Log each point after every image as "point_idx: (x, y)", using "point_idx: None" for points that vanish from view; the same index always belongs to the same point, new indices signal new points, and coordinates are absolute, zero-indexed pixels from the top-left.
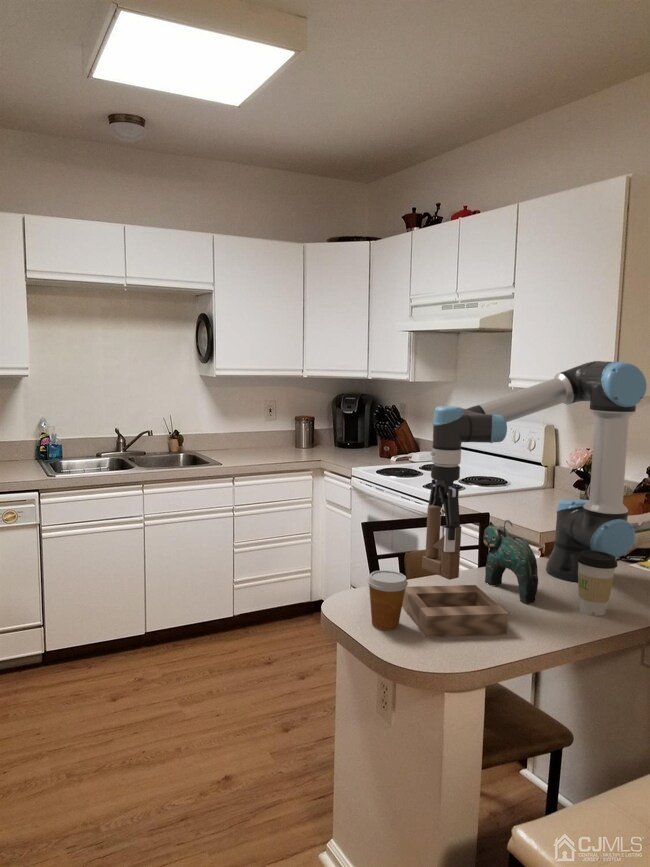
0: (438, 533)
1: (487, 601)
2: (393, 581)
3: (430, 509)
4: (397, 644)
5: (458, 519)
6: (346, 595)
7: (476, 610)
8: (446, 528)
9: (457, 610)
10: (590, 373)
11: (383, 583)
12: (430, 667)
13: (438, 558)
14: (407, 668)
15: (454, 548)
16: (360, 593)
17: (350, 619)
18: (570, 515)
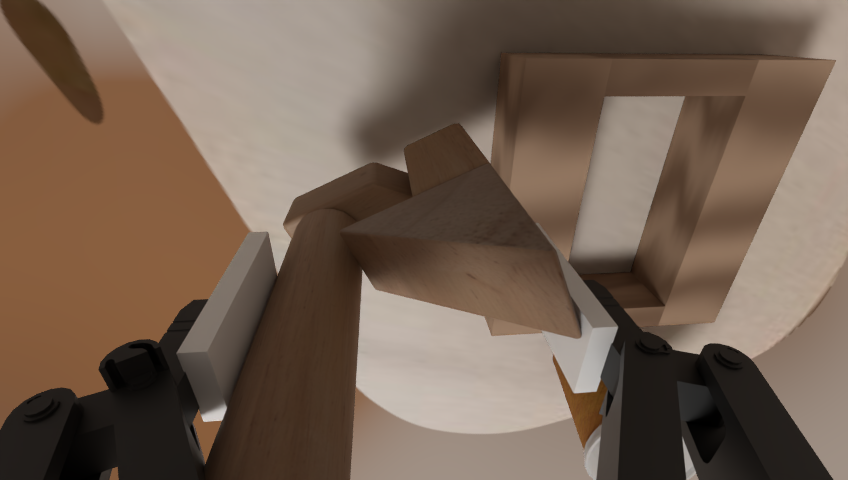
0: (346, 302)
1: (707, 92)
2: (686, 453)
3: None
4: (679, 345)
5: (776, 416)
6: (392, 400)
7: (753, 172)
8: (594, 383)
9: (722, 233)
10: None
11: (688, 473)
12: (793, 311)
13: (358, 213)
14: (771, 347)
15: (545, 234)
16: (379, 372)
17: (535, 404)
18: None
